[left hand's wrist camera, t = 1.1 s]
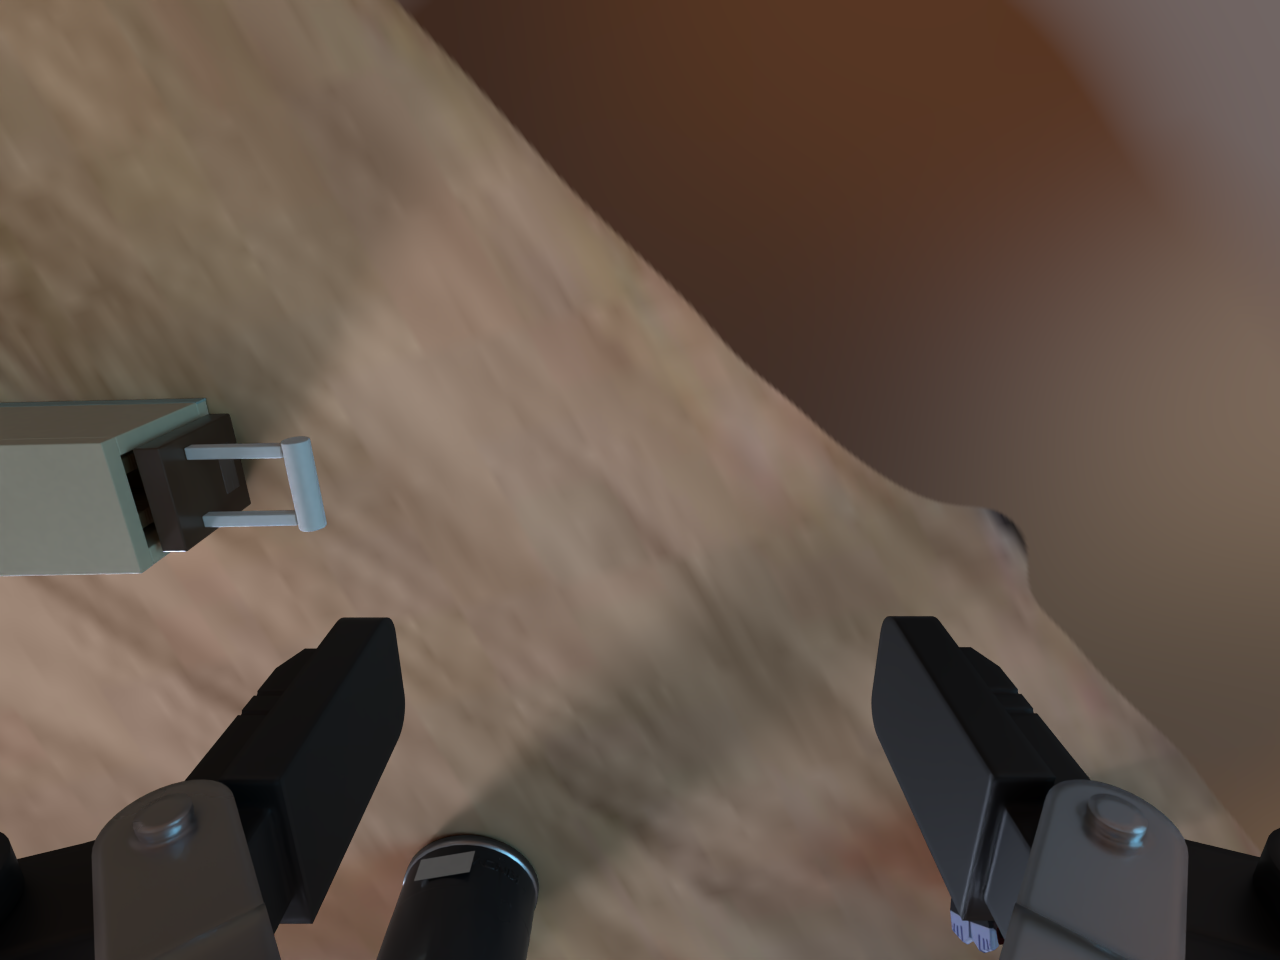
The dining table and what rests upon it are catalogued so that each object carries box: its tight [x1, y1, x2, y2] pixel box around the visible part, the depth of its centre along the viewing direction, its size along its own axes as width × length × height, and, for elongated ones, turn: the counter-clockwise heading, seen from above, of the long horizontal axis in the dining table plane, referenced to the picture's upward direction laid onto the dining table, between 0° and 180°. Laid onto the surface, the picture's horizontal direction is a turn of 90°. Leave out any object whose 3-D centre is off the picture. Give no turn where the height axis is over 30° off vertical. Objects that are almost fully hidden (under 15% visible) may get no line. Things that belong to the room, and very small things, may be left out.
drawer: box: [120, 414, 327, 552], centre depth 35 cm, size 22×5×6 cm, turn 91°
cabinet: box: [0, 398, 209, 576], centre depth 35 cm, size 18×6×8 cm, turn 91°
